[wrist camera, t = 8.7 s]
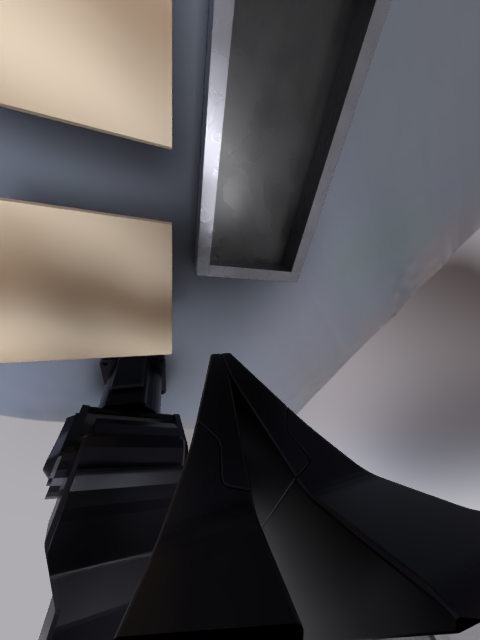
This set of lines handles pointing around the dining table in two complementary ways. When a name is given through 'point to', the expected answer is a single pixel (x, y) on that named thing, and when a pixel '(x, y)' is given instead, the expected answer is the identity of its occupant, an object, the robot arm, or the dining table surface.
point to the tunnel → (79, 224)
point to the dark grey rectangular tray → (275, 126)
